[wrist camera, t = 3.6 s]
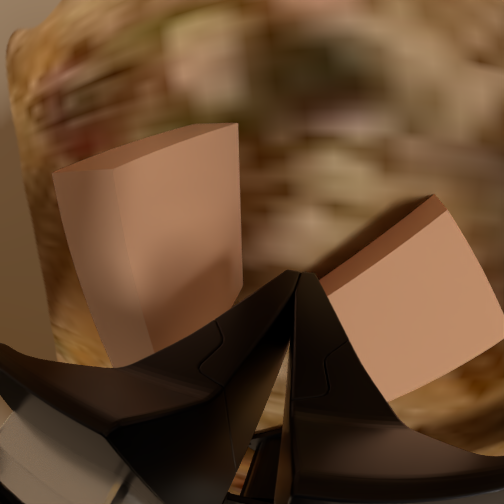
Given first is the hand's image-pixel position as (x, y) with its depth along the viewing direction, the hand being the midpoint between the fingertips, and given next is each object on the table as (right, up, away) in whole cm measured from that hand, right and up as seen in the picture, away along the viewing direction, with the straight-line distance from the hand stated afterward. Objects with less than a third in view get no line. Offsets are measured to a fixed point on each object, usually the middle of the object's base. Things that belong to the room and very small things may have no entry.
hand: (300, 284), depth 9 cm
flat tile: (+6, -1, +5) cm, 8 cm away
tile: (-3, +3, +5) cm, 7 cm away
